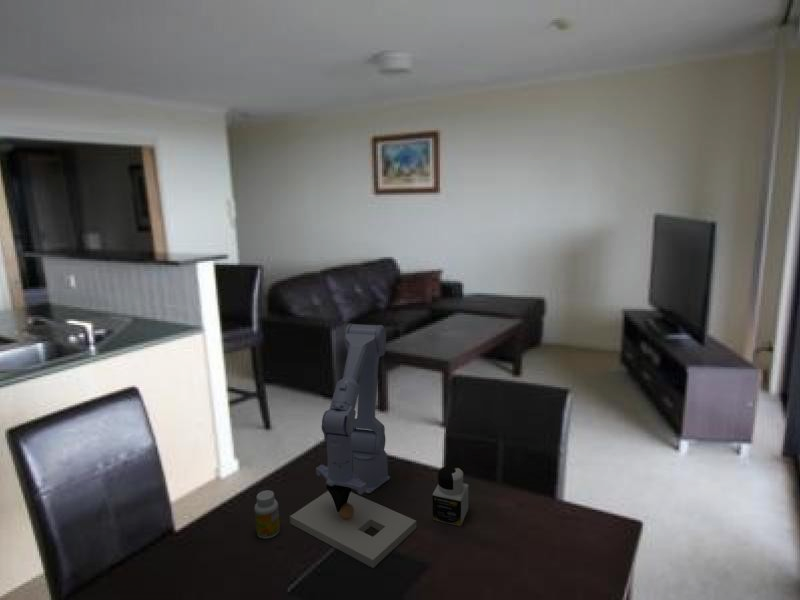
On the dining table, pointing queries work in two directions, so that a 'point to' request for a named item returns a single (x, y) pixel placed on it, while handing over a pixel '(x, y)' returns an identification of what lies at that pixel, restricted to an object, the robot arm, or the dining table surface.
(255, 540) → the dining table surface
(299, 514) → the white flat board
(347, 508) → the ball
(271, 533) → the supplement bottle
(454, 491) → the medicine bottle
